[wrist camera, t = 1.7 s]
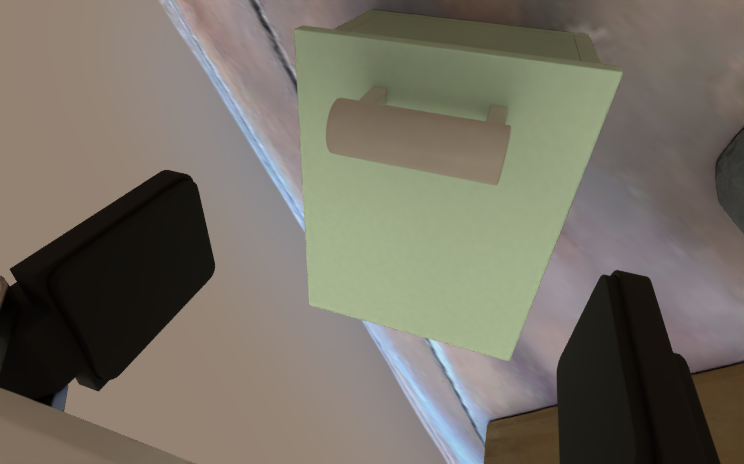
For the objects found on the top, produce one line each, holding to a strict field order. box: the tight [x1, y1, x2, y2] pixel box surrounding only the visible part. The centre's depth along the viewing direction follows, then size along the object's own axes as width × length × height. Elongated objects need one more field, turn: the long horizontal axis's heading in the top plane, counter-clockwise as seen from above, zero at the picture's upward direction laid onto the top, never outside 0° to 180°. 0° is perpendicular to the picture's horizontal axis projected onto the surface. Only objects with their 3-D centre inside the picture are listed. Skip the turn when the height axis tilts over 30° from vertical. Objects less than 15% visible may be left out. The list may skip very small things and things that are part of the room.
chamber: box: [334, 10, 601, 64], centre depth 26 cm, size 16×13×10 cm
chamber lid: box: [294, 26, 623, 361], centre depth 20 cm, size 17×13×6 cm
